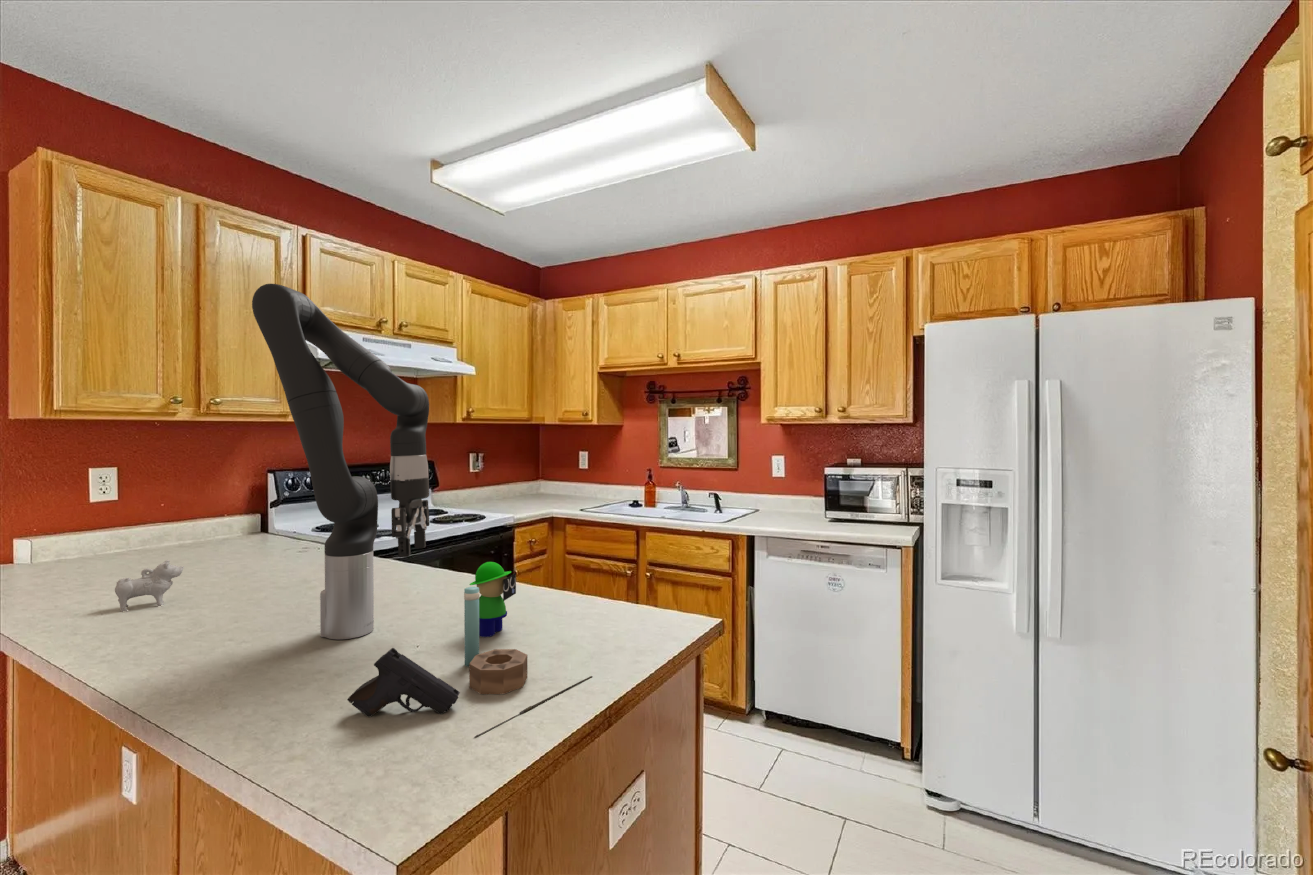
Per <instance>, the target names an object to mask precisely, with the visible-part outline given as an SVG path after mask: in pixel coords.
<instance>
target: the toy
mask: <svg viewBox="0 0 1313 875" xmlns="http://www.w3.org/2000/svg"><path fill="white" fill-rule="evenodd" d="M475 572H476V573H475V576H474V579H475V580H474V581H472V582H469V586H474V585H476V587H479V637H481V638H490V637H494V636H495V635H496V633H497V632H501V631H503V619H505V618H506V617H507V615H508V611H507V607H506V604H505V603H506V602H505V601H506V600H508V599H509V598H511V597H513V596H514V595H515V594H516V593H517V573H516V572H515V573H513V574H511V573H512V571H511V570H509V571H505V570H504V568H503V567H502V566H501V565H500V564H499V563H497V562H494V561H486V562H484V563H482V564H481V565H480V566H478V568H477V570H476V571H475ZM509 574H511V575H509ZM508 575H509V576H508ZM507 576H508V577H507Z"/></svg>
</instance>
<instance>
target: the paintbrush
mask: <svg viewBox="0 0 1313 875" xmlns="http://www.w3.org/2000/svg"><path fill="white" fill-rule="evenodd" d="M592 678H593V676H592V675H590V676H588V677H586V678H585V679H582V680H580V681H578V682H576V683H574V684H572V685H571V686H569V687H568V686H567V688H564V689H563V690H561V691H559V692H557V693H554V694H553V695H551V696H549V697H547V698H545V699H543V700H541V701H539V702H537V703H535V704H532V705H530V706H527V708H525V709H523V710H521V711H520V712H519V713H518V714H516V715H514V716H512V717H510V718H509V719H506V720H504V721H502V722H500V723H498V724H497V725H494V726H492V727H491V728H488V729H486V730H484V731H482V732H480V733H478V734H476V735H475V736H474V737H473V739H474V738H478V737H479V736H481V735H484V734H485V733H487V732H489V731H491V730H493V729H495V728H497V727H499V726H500V725H502V724H504V723H506V722H508V721H510V720H513V719H514V718H516V717H518V716H521V715H523V714H526V713H527V712H529V711H532V710H534V709H535V708H536V707H538V705H539V706H541V705H543V704H544V703H546V702H548V701H549V700H552V699H554V698H555V696H556V697H558V696H559V694H560V695H561V694H564V693H565V692H567V691H569V690H571V689H573V688H575V687H576V686H579V685H580V684H582V683H584V682H586V681H588V680H590V679H592ZM553 697H554V698H553ZM551 698H552V699H551ZM547 700H548V701H547ZM545 701H546V702H545Z"/></svg>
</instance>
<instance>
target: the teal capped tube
mask: <svg viewBox="0 0 1313 875" xmlns="http://www.w3.org/2000/svg"><path fill="white" fill-rule="evenodd" d="M479 597H480V593H479V587H477V586H469V587H466V588H464V592H463V600H464V602H463V604H464V605H463V606H464V608H463V610H464V612H463V613H464V617H463V618H464V620H463V622H464V666H465V667H469V664H470V662H471V661H472V660H473V658H474V657H475V656H476V655H478V654H480V636H479Z"/></svg>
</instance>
